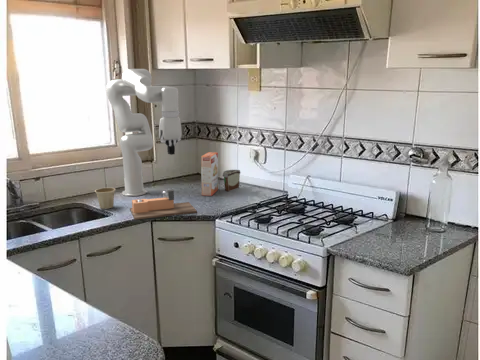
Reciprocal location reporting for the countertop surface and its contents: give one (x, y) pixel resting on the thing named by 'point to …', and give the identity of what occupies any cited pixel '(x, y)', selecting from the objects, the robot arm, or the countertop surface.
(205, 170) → the cracker box
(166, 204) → the link
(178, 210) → the board
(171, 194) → the keeper
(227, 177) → the food container
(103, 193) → the flower pot
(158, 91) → the robot arm
